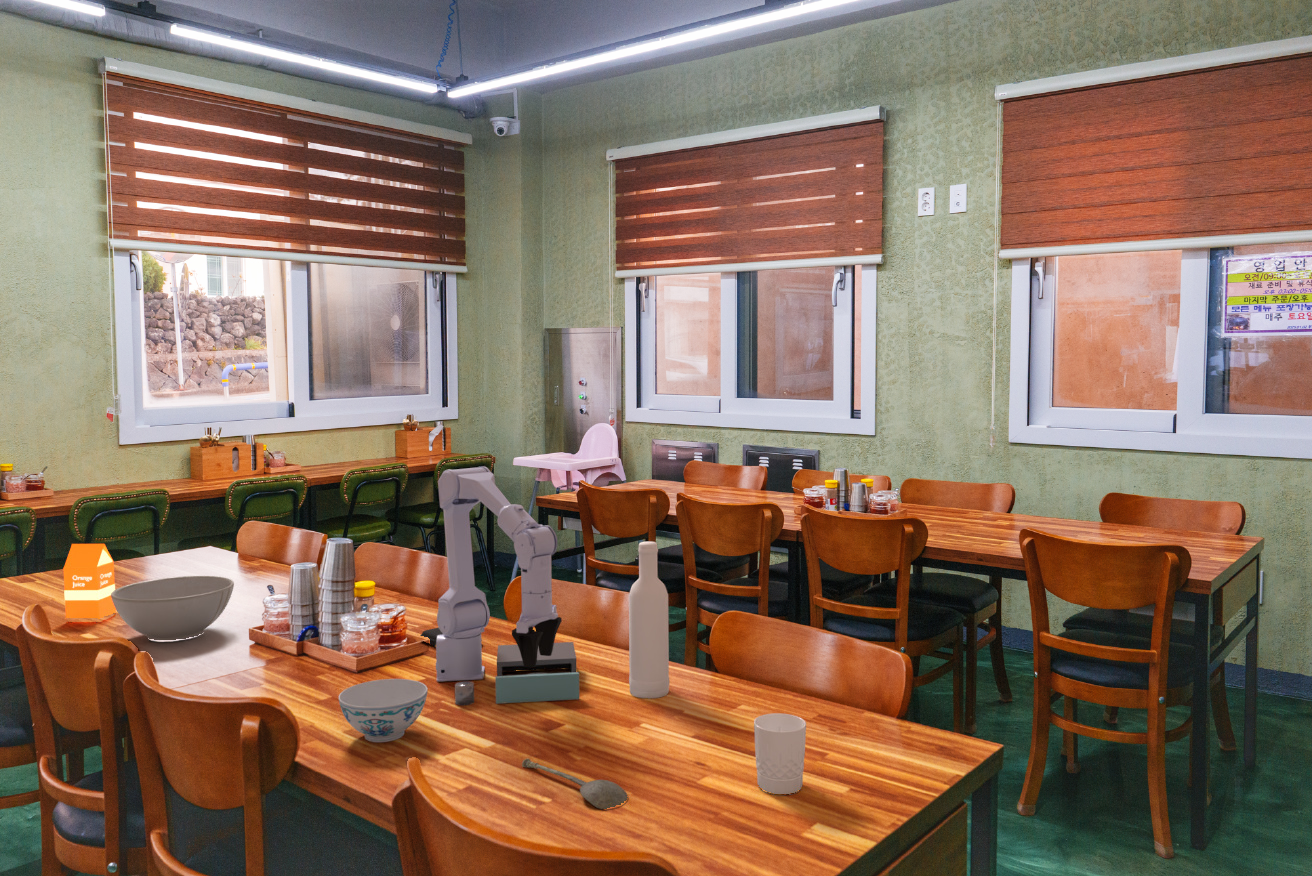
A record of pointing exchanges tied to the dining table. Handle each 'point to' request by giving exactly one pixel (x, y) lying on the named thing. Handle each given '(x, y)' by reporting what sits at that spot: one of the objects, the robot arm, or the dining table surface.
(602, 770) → the dining table surface
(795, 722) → the white cup
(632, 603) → the bottle
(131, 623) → the decorative bowl
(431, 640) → the carrying case or bag
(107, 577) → the orange juice
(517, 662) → the grey drawer housing
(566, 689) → the teal drawer
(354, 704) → the chinaware
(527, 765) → the soupspoon
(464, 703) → the grey metallic cube
